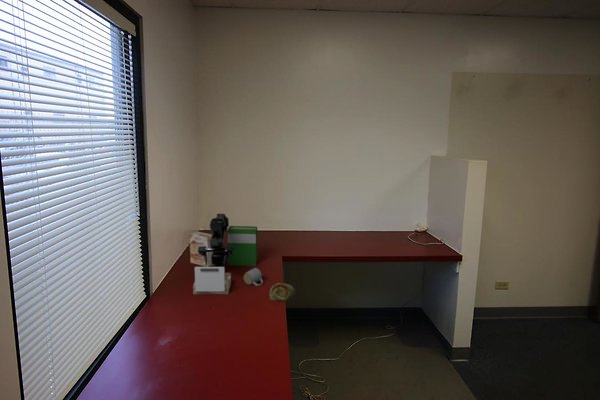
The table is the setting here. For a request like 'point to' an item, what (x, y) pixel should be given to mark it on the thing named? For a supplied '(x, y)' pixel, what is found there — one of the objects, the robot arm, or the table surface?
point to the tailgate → (209, 278)
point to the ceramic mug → (253, 277)
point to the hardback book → (243, 245)
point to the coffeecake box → (200, 241)
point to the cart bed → (227, 287)
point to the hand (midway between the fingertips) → (215, 265)
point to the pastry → (281, 292)
